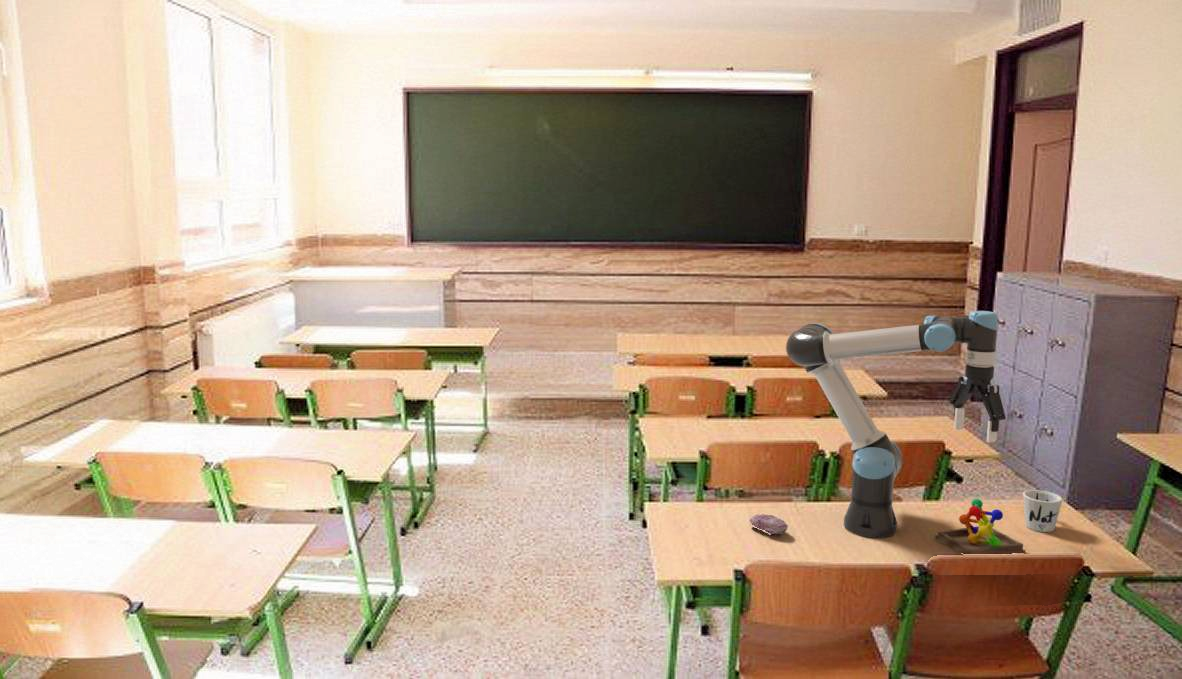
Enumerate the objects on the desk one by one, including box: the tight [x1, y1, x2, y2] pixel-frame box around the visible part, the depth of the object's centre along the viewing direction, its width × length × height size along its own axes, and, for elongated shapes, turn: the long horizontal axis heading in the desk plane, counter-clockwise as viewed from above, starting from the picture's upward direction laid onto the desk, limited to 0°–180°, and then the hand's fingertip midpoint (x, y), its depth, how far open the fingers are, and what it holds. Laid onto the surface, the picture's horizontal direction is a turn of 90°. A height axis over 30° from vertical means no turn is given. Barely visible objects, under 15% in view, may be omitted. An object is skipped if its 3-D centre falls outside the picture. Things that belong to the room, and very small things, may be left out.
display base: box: [934, 525, 1026, 554], centre depth 235 cm, size 16×17×2 cm
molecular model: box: [958, 498, 1004, 547], centre depth 234 cm, size 12×7×12 cm, turn 10°
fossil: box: [749, 513, 789, 535], centre depth 247 cm, size 8×14×5 cm, turn 31°
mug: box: [1022, 489, 1063, 533], centre depth 249 cm, size 10×15×10 cm
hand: (974, 435), depth 243 cm, fingers open, 13 cm apart
